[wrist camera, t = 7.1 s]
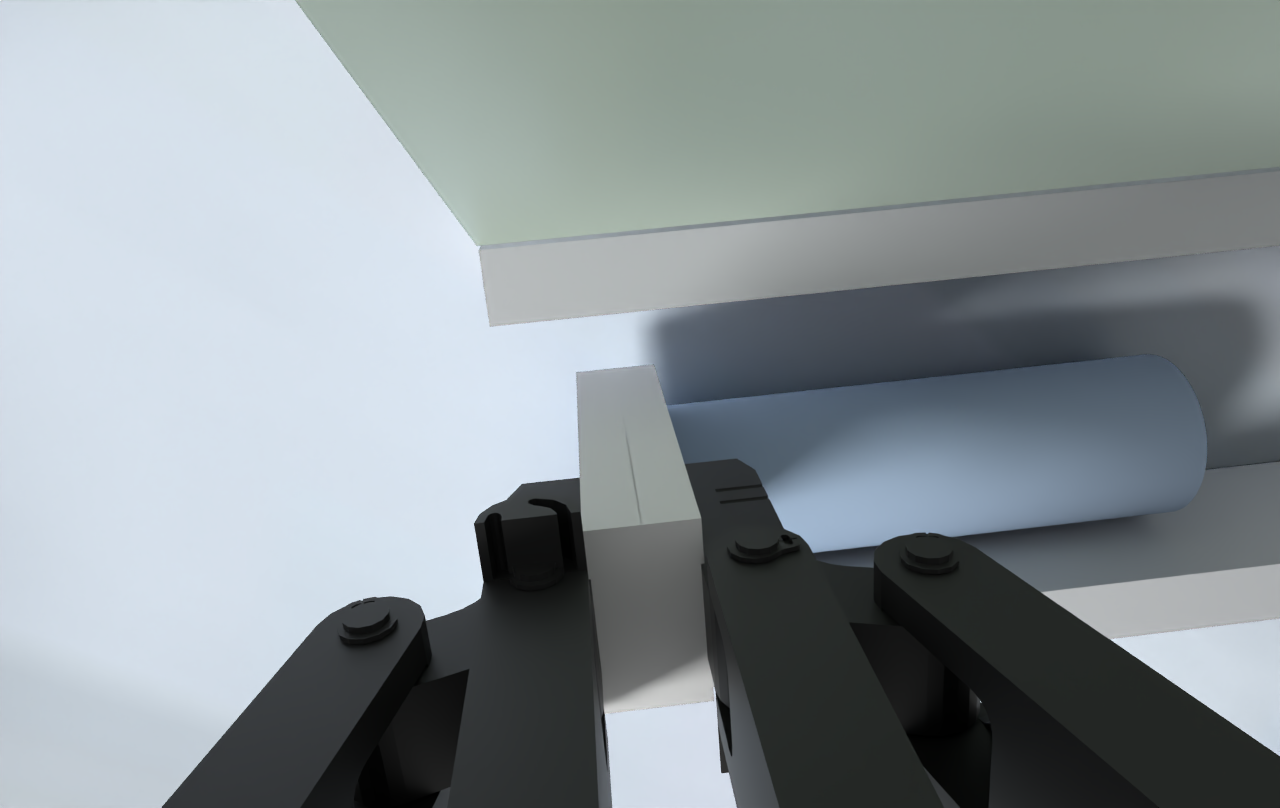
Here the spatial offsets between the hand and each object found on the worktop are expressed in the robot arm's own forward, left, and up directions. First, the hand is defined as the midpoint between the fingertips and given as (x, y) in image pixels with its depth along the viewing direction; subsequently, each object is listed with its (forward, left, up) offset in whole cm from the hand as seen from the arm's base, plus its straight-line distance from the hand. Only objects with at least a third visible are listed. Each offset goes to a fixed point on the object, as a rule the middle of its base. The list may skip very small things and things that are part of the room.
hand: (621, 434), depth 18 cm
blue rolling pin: (+6, 0, -1) cm, 6 cm away
